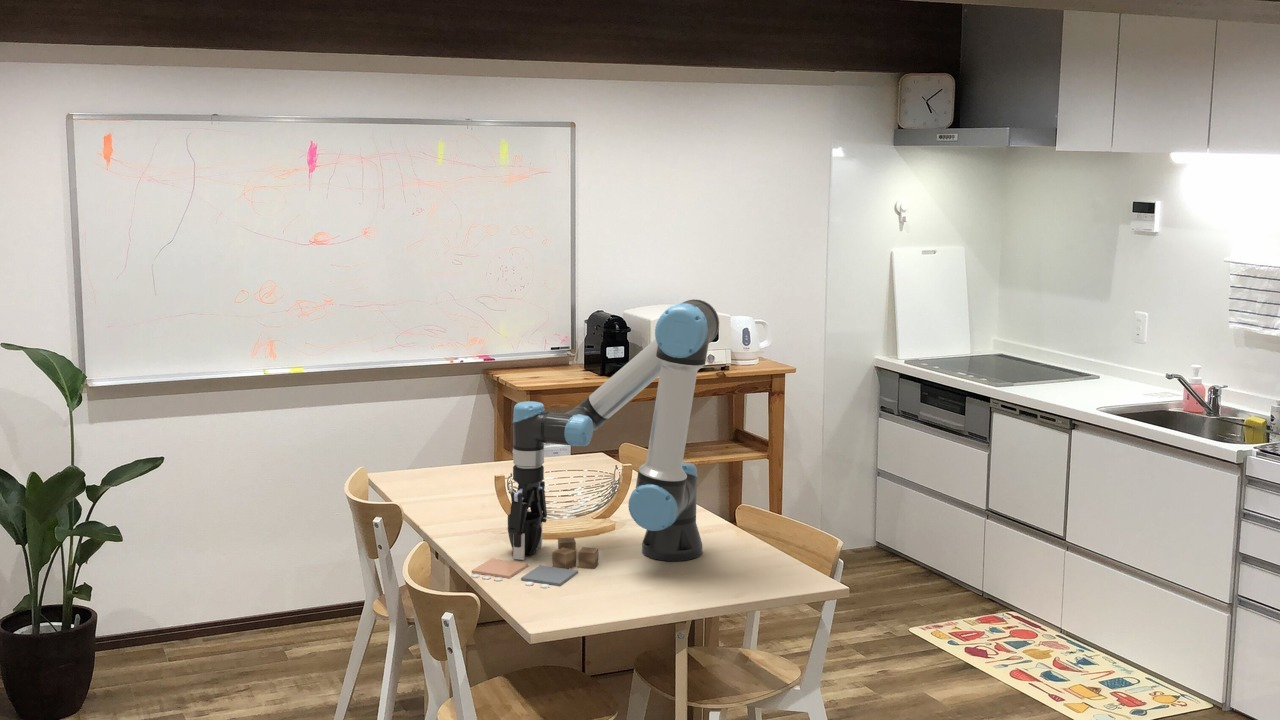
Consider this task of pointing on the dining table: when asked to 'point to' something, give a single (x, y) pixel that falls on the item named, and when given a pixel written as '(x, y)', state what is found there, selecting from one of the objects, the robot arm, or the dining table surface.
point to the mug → (530, 532)
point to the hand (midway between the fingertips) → (528, 553)
